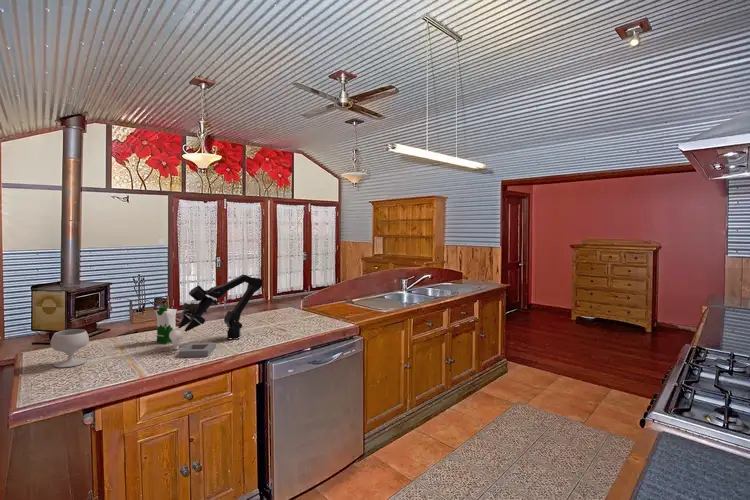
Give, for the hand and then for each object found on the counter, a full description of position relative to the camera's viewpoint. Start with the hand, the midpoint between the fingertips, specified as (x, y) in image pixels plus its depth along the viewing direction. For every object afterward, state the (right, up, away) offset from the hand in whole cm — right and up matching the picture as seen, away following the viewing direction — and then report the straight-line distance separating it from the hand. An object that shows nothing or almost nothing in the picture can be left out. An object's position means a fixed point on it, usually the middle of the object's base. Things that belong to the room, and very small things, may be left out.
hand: (181, 329), depth 203 cm
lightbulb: (-2, -10, -2) cm, 11 cm away
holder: (+11, -11, -6) cm, 17 cm away
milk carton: (-15, -10, +13) cm, 22 cm away
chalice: (-40, -11, -24) cm, 48 cm away
